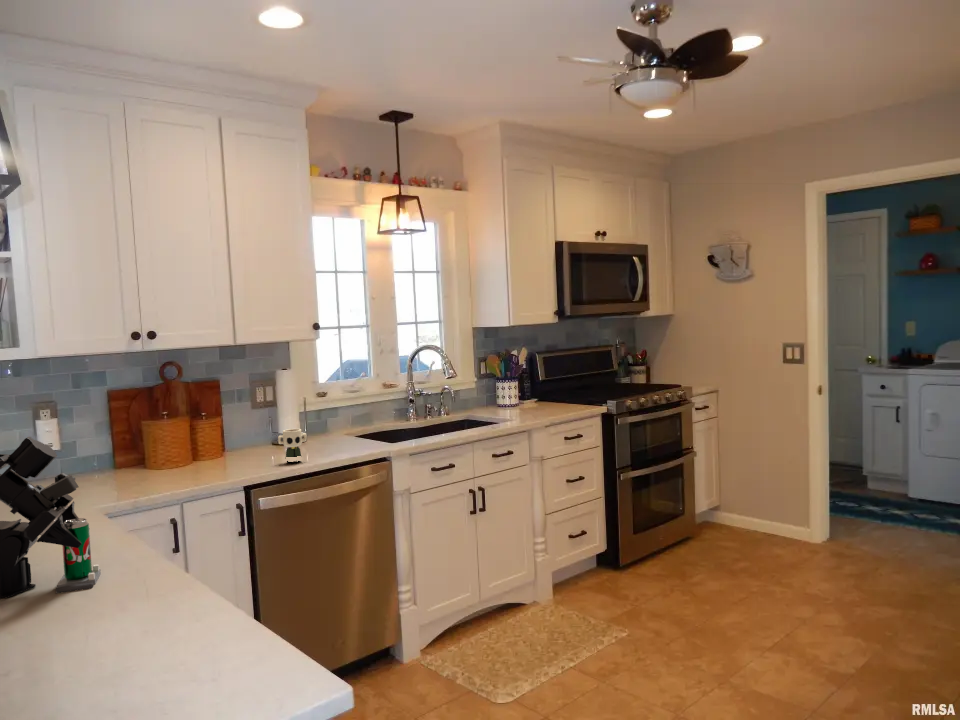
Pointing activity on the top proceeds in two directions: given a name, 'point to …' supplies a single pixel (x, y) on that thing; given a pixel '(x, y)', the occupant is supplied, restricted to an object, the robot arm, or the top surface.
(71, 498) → the robot arm
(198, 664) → the top surface
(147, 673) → the top surface
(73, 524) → the soda can
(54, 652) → the top surface
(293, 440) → the character mug
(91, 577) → the switch plate
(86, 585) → the dark grey rod
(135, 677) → the top surface
